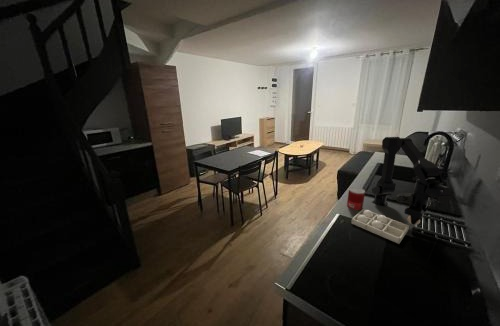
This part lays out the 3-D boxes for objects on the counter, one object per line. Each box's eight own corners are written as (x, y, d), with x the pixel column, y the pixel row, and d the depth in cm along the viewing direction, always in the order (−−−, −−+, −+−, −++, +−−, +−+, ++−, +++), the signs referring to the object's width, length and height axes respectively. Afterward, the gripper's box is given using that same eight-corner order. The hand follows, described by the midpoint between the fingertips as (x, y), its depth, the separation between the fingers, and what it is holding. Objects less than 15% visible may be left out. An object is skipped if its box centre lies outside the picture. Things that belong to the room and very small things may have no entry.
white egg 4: (377, 219, 104) (379, 212, 103) (388, 223, 101) (389, 215, 99) (374, 223, 101) (375, 215, 100) (384, 227, 98) (386, 219, 96)
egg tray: (362, 213, 111) (363, 208, 110) (408, 231, 96) (409, 225, 95) (350, 224, 102) (351, 218, 101) (398, 244, 88) (400, 239, 87)
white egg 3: (372, 225, 100) (374, 217, 99) (383, 229, 97) (385, 221, 95) (369, 229, 97) (370, 220, 96) (379, 233, 94) (381, 225, 92)
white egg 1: (358, 219, 105) (360, 211, 103) (368, 223, 101) (369, 215, 100) (354, 223, 102) (356, 215, 101) (364, 227, 99) (366, 219, 97)
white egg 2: (364, 214, 109) (365, 207, 107) (373, 218, 106) (374, 210, 104) (360, 218, 106) (361, 210, 105) (370, 221, 103) (371, 213, 101)
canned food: (364, 211, 113) (367, 193, 109) (348, 210, 114) (351, 192, 111) (359, 204, 120) (362, 187, 116) (345, 203, 122) (347, 186, 118)
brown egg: (408, 219, 100) (410, 211, 98) (420, 223, 97) (422, 215, 95) (405, 223, 97) (407, 216, 96) (417, 228, 94) (419, 220, 92)
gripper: (406, 181, 103) (399, 208, 108) (394, 192, 92) (387, 222, 96) (435, 188, 95) (426, 217, 100) (426, 201, 83) (417, 233, 88)
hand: (414, 222), depth 96 cm, fingers closed on brown egg, 5 cm apart
